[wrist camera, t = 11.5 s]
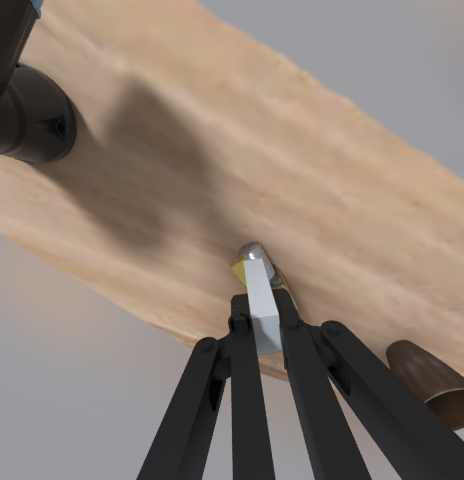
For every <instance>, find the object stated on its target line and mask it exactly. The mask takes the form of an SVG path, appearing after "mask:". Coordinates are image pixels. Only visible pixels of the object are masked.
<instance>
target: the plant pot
mask: <svg viewBox="0 0 464 480" xmlns="http://www.w3.org/2000/svg"><path fill="white" fill-rule="evenodd" d="M386 355H387V359H388V362H389V365H390V369H391V371H392V372H393V373H394V374H395V375H396V376H397V377H398V378H399V379H400V380H401V381H402V382H403V383H404V384H405V385H406V386H407V387H408V388H409V389H410V390H412V391H413V392H414V393H415V394H416V395H417V396H418V397H419V398H420V399H421V400H422V401H423V402H424V403H425V404H426V405H427V406H428V407H429V408H430V409H431V410H432V411H433V412H434V413H435V414H436V415H437V416H438V417H439V418H440V419H441V420H442V421H443V422H444V423H445V424H446V425H447V426H448V427H449V428H451V429H452V430H453V431H456V430H459V429H462V428H464V377H463V376H461V375H460V374H459V373H458V372H456V371H455V370H454V369H452V368H451V367H449V366H448V365H447V364H445V363H444V362H442V361H441V360H439V359H438V358H436V357H435V356H433V355H432V354H430V353H429V352H427V351H425V350H424V349H422V348H420V347H419V346H417V345H415V344H413V343H412V342H410V341H406V340H401V341H397V342H395V343H393V344H391V345H390V346H389V347H388V349H387V351H386Z"/></svg>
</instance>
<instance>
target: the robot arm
mask: <svg viewBox="0 0 464 480" xmlns="http://www.w3.org/2000/svg"><path fill="white" fill-rule="evenodd" d="M43 1H44V0H0V154H1V155H4V156H8V157H12V158H14V159H17V160H20V161H24V162H28V163H48V162H54V161H57V160H59V159H61V158H63V157H64V156H65V155H67V154H68V152H69V151H70V150H71V148H72V146H73V144H74V142H75V137H76V120H75V116H74V112H73V109H72V107H71V105H70V103H69V101H68V99H67V97H66V96H65V94H64V93H63V91H62V90H61V89H60V88H59V86H58V85H57V84H56V83H55V82H54V81H53V80H52V79H50V78H49V77H48V76H47V75H45V74H44V73H42V72H40V71H39V70H37V69H35V68H32V67H30V66H27V65H25V64H22V63H19V62H18V60H19V58H20V56H21V53H22V51H23V49H24V47H25V44H26V42H27V40H28V37H29V35H30V33H31V30H32V28H33V26H34V23H35V21H36V19H40V17H41V7H42V4H43ZM243 262H244V269H245V277H246V284H247V291H248V293H247V294H240V295H234V296H233V298H232V300H231V316H230V318H229V320H228V324H229V329H230V332H229V334H228V335H227V336H225V337H223V338H221V339H219V340H216V339H215V338H213V337H205V338H203V339H201V340H199V341H198V342H197V344H196V345H195V347H194V349H193V351H192V354H191V356H190V358H189V361H188V363H187V365H186V367H185V370H184V372H183V374H182V377H181V379H180V381H179V383H178V386H177V388H176V390H175V393H174V395H173V397H172V399H171V402H170V404H169V407H168V409H167V411H166V413H165V415H164V418H163V420H162V422H161V425H160V427H159V429H158V431H157V434H156V436H155V438H154V441H153V443H152V445H151V448H150V450H149V452H148V454H147V457H146V459H145V461H144V463H143V466H142V468H141V470H140V473H139V475H138V477H137V479H136V480H202V476H203V472H204V468H205V464H206V460H207V455H208V452H209V448H210V444H211V440H212V436H213V431H214V428H215V424H216V420H217V416H218V412H219V407H220V403H221V400H222V395H223V392H224V387H225V383H226V379H227V378H229V377H231V399H232V400H231V401H232V454H233V455H232V458H233V480H275V473H274V466H273V459H272V452H271V445H270V439H269V432H268V425H267V418H266V411H265V404H264V397H263V390H262V383H261V376H260V369H259V362H258V356H257V355H258V354H266V353H274V352H282V350H283V355H284V366H285V369H286V370H287V374H288V377H289V381H290V385H291V388H292V393H293V396H294V400H295V404H296V408H297V412H298V416H299V420H300V424H301V428H302V431H303V435H304V439H305V443H306V447H307V451H308V455H309V459H310V462H311V466H312V470H313V474H314V478H315V480H372V479H371V476H370V474H369V472H368V470H367V467H366V465H365V462H364V460H363V458H362V455H361V454H360V451H359V449H358V446H357V444H356V441H355V439H354V437H353V435H352V432H351V430H350V428H349V425H348V423H347V421H346V418H345V416H344V414H343V411H342V409H341V407H340V404H339V402H338V400H337V397H336V395H335V393H334V390H333V388H332V386H331V383H330V381H329V379H328V377H329V378H330V380H331V381H332V382H333V384H334V385H335V387H336V388H337V389H338V391H339V392H340V394H341V395H342V396H343V398H344V399H345V401H346V402H347V403H348V405H349V406H350V407H351V409H352V410H353V412H354V413H355V414H356V416H357V417H358V419H359V420H360V421H361V423H362V424H363V426H364V427H365V428H366V429H367V431H368V433H369V434H370V435H371V437H372V438H373V439H374V441H375V442H376V444H377V445H378V447H379V448H380V449H381V451H382V452H383V454H384V455H385V456H386V458H387V459H388V461H389V462H390V463H391V465H392V466H393V467H394V469H395V470H396V472H397V473H398V475H399V476H400V477H401V479H402V480H464V441H463V440H462V439H461V438H460V437H459V436H458V435H457V434H456V433H455V432H454V431H453V430H452V429H451V428H449V427H448V426H447V425H446V424H445V423H444V422H443V421H442V420H441V419H440V418H439V417H438V416H437V415H436V414H435V413H434V412H433V411H432V410H431V409H430V408H429V407H428V406H427V405H426V404H425V403H424V402H423V401H422V400H421V399H420V398H419V397H418V396H417V395H416V394H415V393H414V392H413V391H412V390H410V389H409V388H408V387H407V386H406V385H405V384H404V383H403V382H402V381H401V380H400V379H399V378H398V377H397V376H396V375H395V374H394V373H393V372H392V371H391V370H390V369H389V368H388V367H387V366H386V365H385V364H384V363H383V362H382V361H381V360H380V359H379V358H378V357H377V356H376V355H375V354H374V353H372V352H371V351H370V350H369V349H368V348H367V347H366V346H365V345H364V344H363V343H362V342H361V341H360V340H359V339H358V338H357V337H356V336H355V335H354V334H353V333H352V332H351V331H350V330H349V329H348V328H347V327H346V326H345V325H343V324H342V323H340V322H337V321H331V320H330V321H326V322H324V323H322V325H321V327H319V326H312V325H308V324H306V323H304V321H303V320H302V319H300V317H299V315H298V313H297V310H296V308H295V305H294V303H293V301H292V298H291V296H290V293H289V292H288V291H287V290H286V289H285V288H280V289H273V290H271V287H270V284H269V280H268V277H267V274H266V271H265V267H264V264H263V261H262V258H261V259H254V260H247V261H243ZM327 375H328V376H327Z"/></svg>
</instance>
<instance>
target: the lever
mask: <svg viewBox="0 0 464 480" xmlns="http://www.w3.org/2000/svg"><path fill="white" fill-rule="evenodd" d="M243 261H247V259H246V257H245V256H244V255H243V256H241V257H240V258H238V259H237V260H235V261H234V262H232V263H230V269H231V270H232V271H233V272H234V274H235V275H236V276H237V277H238V278H239V279H240V281H241V282H242V283H243V284H244V285H245V286H246V288H247V284H246V277H245V269H244V262H243Z"/></svg>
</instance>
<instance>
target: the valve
mask: <svg viewBox="0 0 464 480" xmlns="http://www.w3.org/2000/svg"><path fill="white" fill-rule="evenodd" d="M238 254H239V256H240V257H241V256H243V255H244V256H245V257H246V259H247V260H254V259H261V258H262V261H263V264H264V267H265V271H266V274H267V277H268V280H269V284H270V287H271V290H273V289H280V288H285V289H286V290H287V291H288V292H289V293H290V296H291V298H292V301H293V303H294V305H295V308H296V310H297V309H298V307H297V305H296V303H295V300H294V298H293V296H292V293H291V291H290V289H289V287H288V285H287V283H286V281H285V279H284V277H283V276H282V274H281V272H280V270H279V268H278V269H277V268H276V266H275V265H273V266H272V265H271V263H270V261H269V260H268V258H267V256H266V254H265V252H264V250H263V249H262V247H261V245H260V243H259V242H252V243H249V244H247V245H245V246H244V247H243V248H242V249H241V250H240V251H239V253H238ZM299 317H300V316H299ZM300 319H301V318H300Z"/></svg>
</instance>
